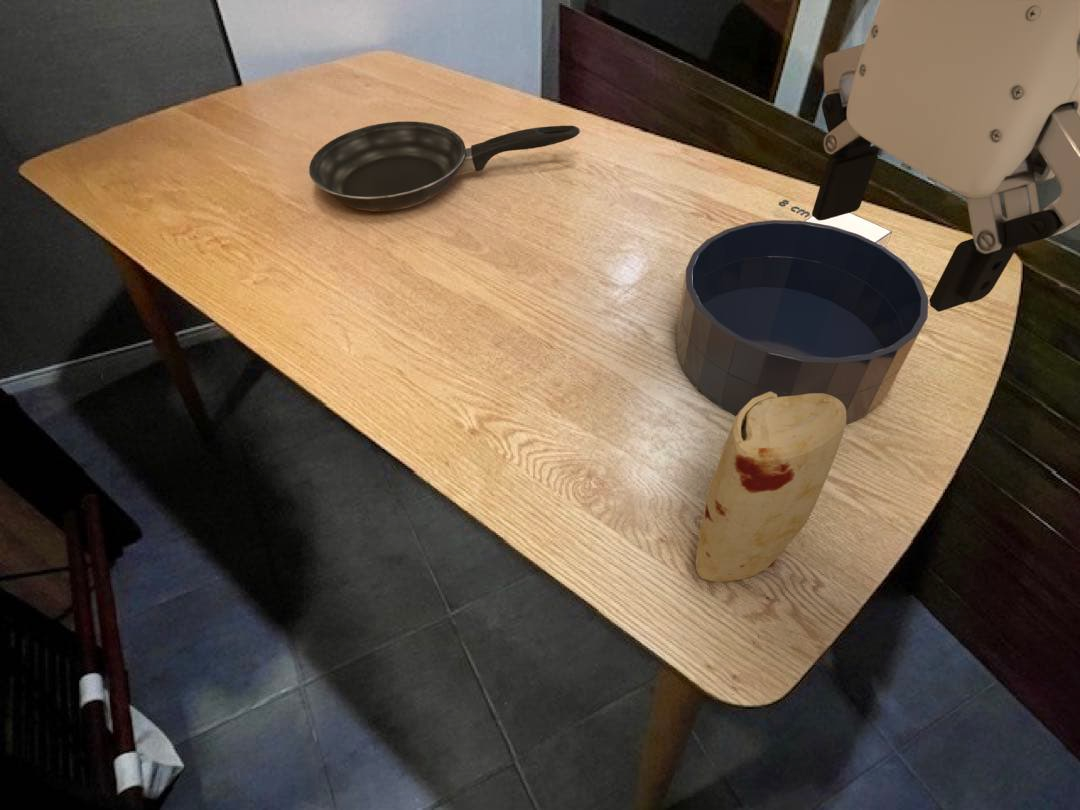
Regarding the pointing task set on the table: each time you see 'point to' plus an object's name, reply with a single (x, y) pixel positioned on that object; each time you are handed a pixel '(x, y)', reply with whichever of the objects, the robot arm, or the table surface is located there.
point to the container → (851, 225)
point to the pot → (797, 315)
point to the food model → (767, 482)
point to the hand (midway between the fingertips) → (889, 254)
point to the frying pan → (410, 161)
